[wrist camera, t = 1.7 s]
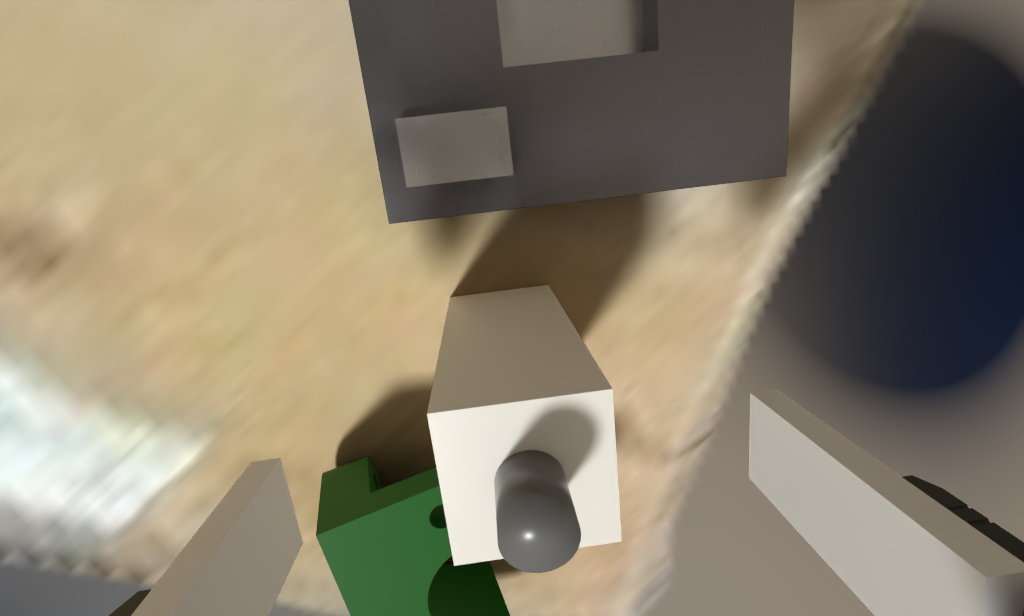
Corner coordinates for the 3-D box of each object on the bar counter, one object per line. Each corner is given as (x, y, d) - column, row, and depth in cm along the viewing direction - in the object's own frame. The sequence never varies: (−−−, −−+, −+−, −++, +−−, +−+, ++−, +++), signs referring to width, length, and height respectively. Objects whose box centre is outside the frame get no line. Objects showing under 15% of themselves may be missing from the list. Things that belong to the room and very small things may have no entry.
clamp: (472, 521, 31) (530, 683, 24) (378, 561, 29) (412, 746, 23) (436, 395, 23) (506, 579, 17) (307, 441, 22) (327, 663, 15)
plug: (450, 296, 22) (417, 461, 10) (548, 284, 22) (638, 431, 10) (463, 387, 24) (450, 634, 11) (556, 374, 24) (646, 605, 11)
